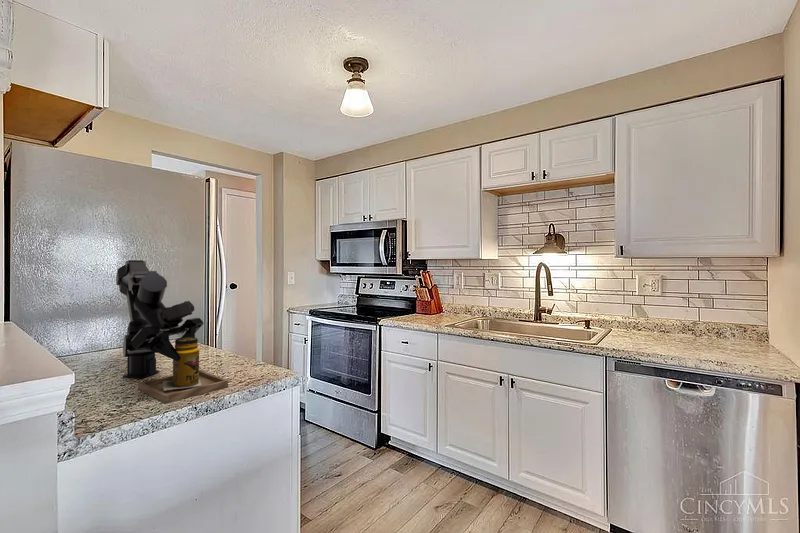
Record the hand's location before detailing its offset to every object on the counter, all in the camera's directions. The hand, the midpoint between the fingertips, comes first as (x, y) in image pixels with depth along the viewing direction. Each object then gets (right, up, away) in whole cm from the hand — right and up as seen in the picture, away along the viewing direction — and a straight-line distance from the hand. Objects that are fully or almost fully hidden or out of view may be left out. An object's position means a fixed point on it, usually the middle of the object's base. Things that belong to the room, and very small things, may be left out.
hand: (188, 356), depth 102 cm
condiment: (-2, -7, 0) cm, 8 cm away
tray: (-1, -8, 0) cm, 8 cm away
